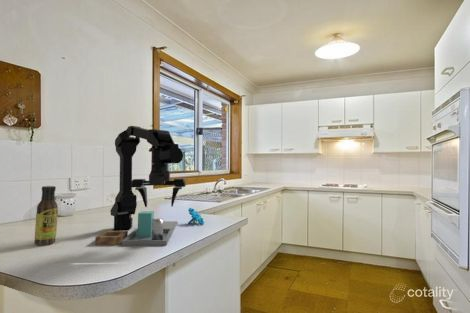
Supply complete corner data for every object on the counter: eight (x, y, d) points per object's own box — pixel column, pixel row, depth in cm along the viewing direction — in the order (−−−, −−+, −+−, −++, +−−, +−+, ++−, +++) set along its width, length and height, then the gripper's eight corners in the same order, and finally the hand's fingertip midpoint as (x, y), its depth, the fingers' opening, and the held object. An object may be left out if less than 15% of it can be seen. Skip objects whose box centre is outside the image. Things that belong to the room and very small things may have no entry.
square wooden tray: (95, 245, 95) (95, 237, 95) (104, 239, 104) (104, 231, 104) (120, 245, 96) (120, 237, 96) (127, 239, 105) (127, 231, 105)
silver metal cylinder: (150, 243, 98) (150, 220, 99) (152, 240, 102) (153, 218, 102) (161, 243, 99) (162, 220, 99) (163, 240, 103) (164, 218, 103)
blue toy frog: (200, 223, 126) (187, 206, 129) (191, 232, 126) (178, 215, 129) (208, 222, 137) (195, 206, 139) (199, 230, 137) (187, 214, 140)
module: (137, 237, 106) (138, 213, 106) (140, 233, 111) (141, 211, 111) (150, 236, 107) (151, 213, 107) (153, 233, 112) (154, 211, 112)
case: (121, 246, 95) (121, 241, 95) (145, 223, 131) (145, 219, 131) (166, 246, 96) (166, 240, 96) (177, 223, 132) (177, 219, 132)
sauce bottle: (42, 247, 93) (44, 187, 93) (30, 244, 95) (32, 186, 95) (60, 242, 99) (62, 186, 99) (48, 240, 101) (50, 185, 101)
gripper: (127, 163, 93) (126, 210, 92) (184, 163, 95) (183, 209, 94) (135, 164, 104) (134, 206, 103) (185, 164, 106) (185, 205, 105)
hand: (159, 206), depth 101 cm, fingers open, 9 cm apart
